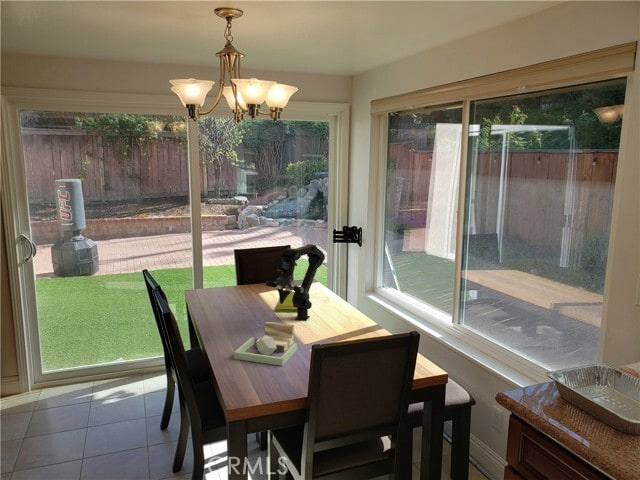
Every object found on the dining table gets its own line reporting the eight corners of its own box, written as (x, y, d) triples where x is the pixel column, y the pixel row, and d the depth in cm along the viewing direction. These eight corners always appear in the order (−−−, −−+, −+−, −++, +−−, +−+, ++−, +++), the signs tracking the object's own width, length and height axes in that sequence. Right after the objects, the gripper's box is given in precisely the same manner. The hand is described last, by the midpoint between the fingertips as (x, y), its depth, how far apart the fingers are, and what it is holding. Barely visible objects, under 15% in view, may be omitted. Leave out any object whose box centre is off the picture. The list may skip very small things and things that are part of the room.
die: (280, 355, 209) (277, 334, 213) (272, 352, 202) (269, 330, 206) (264, 360, 211) (261, 339, 215) (255, 357, 204) (252, 335, 208)
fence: (251, 343, 221) (251, 337, 220) (297, 349, 214) (297, 343, 214) (234, 358, 204) (233, 352, 204) (282, 365, 198) (282, 358, 197)
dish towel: (274, 313, 264) (274, 307, 264) (282, 294, 299) (282, 289, 299) (301, 313, 264) (301, 308, 263) (306, 295, 299) (306, 290, 298)
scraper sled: (266, 338, 227) (266, 321, 226) (294, 342, 223) (293, 325, 221) (255, 348, 215) (254, 330, 214) (283, 352, 211) (283, 334, 209)
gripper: (265, 267, 233) (258, 299, 231) (300, 274, 228) (294, 306, 226) (272, 270, 243) (266, 300, 241) (306, 277, 239) (300, 307, 236)
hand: (281, 303), depth 236 cm, fingers closed
